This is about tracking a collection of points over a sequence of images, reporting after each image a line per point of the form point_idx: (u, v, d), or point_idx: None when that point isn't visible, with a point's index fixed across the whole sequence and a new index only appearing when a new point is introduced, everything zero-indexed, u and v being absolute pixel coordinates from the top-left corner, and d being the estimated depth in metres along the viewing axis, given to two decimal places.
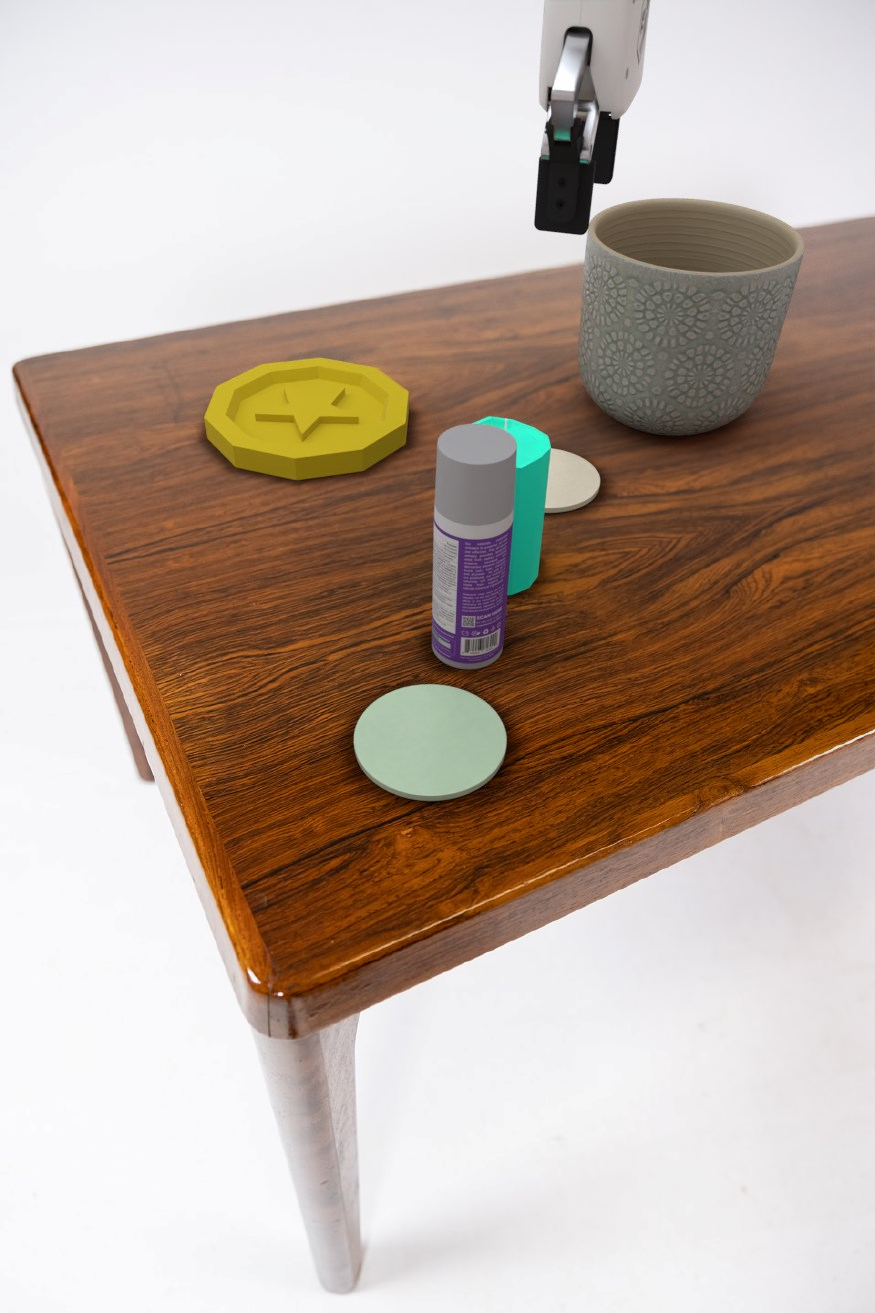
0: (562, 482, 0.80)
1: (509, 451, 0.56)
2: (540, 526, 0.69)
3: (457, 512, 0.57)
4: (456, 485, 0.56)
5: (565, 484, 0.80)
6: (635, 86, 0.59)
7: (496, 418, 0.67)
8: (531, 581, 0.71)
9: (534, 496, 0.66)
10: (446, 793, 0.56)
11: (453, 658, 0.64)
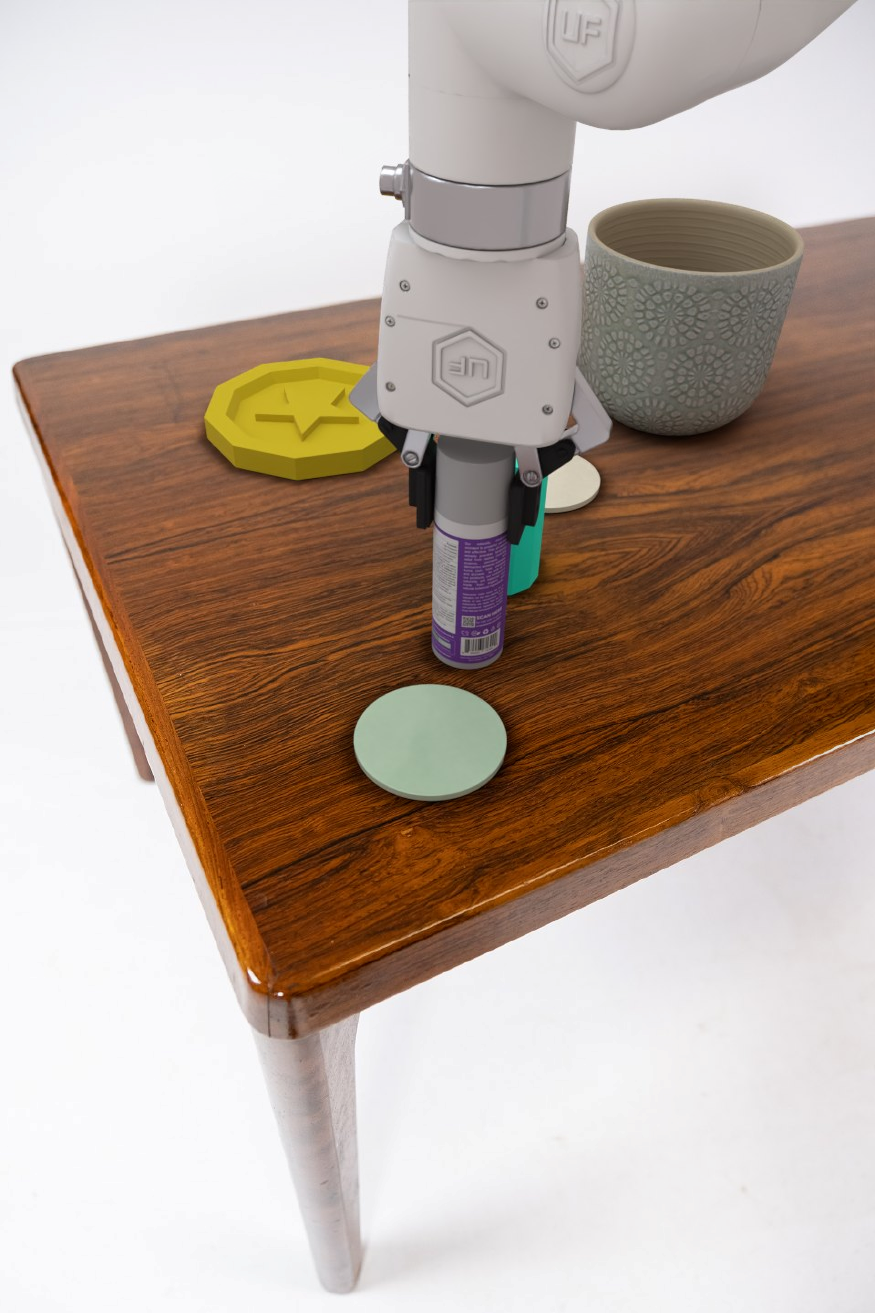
0: (562, 482, 0.80)
1: (508, 451, 0.56)
2: (540, 526, 0.69)
3: (457, 512, 0.57)
4: (456, 485, 0.56)
5: (565, 484, 0.80)
6: (464, 425, 0.52)
7: None
8: (531, 581, 0.71)
9: None
10: (446, 793, 0.56)
11: (453, 658, 0.64)
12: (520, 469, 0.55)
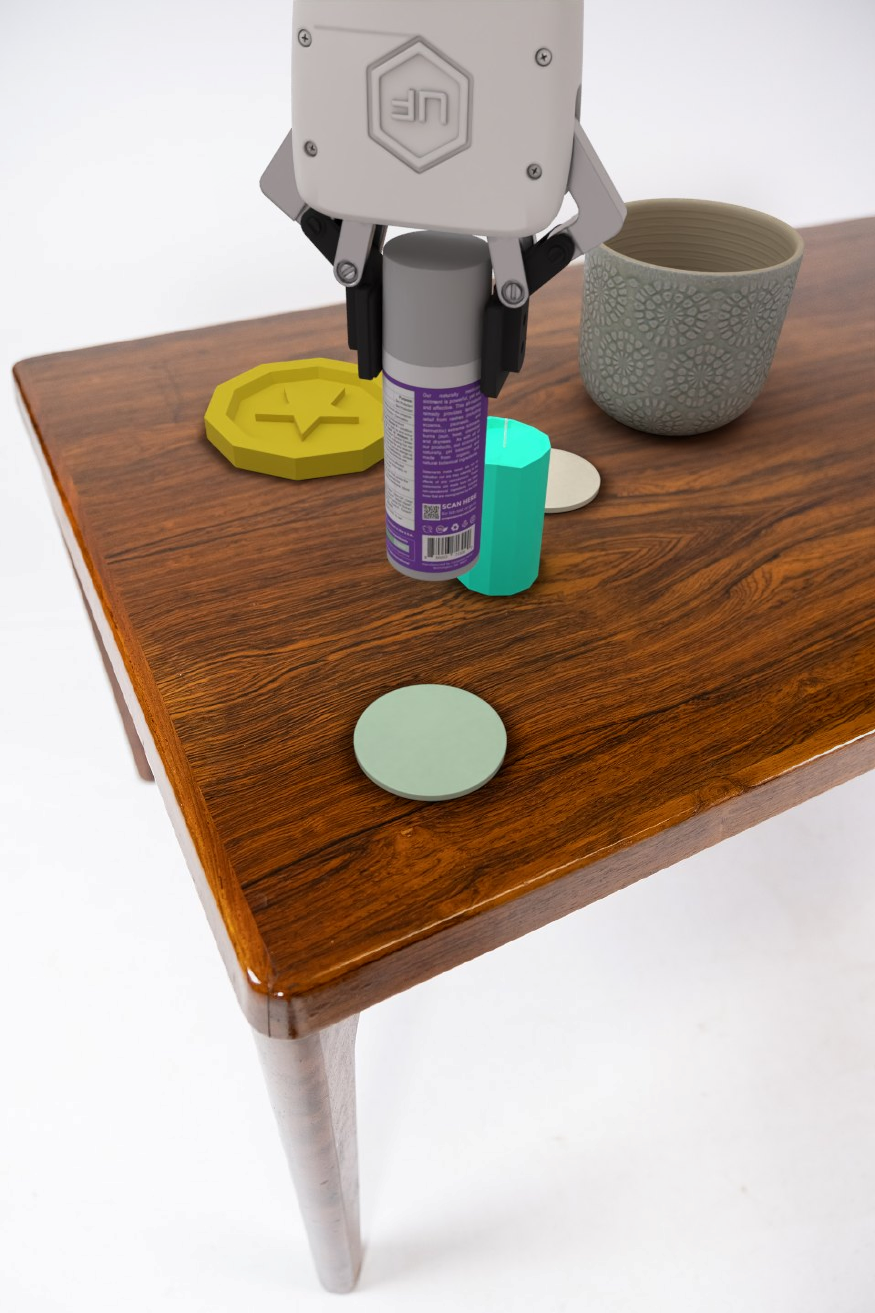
0: (562, 482, 0.80)
1: (482, 257, 0.40)
2: (540, 526, 0.69)
3: (411, 348, 0.41)
4: (408, 306, 0.40)
5: (565, 484, 0.80)
6: (416, 204, 0.37)
7: (496, 418, 0.67)
8: (531, 581, 0.71)
9: (534, 496, 0.66)
10: (446, 793, 0.56)
11: (413, 565, 0.48)
12: (497, 280, 0.39)
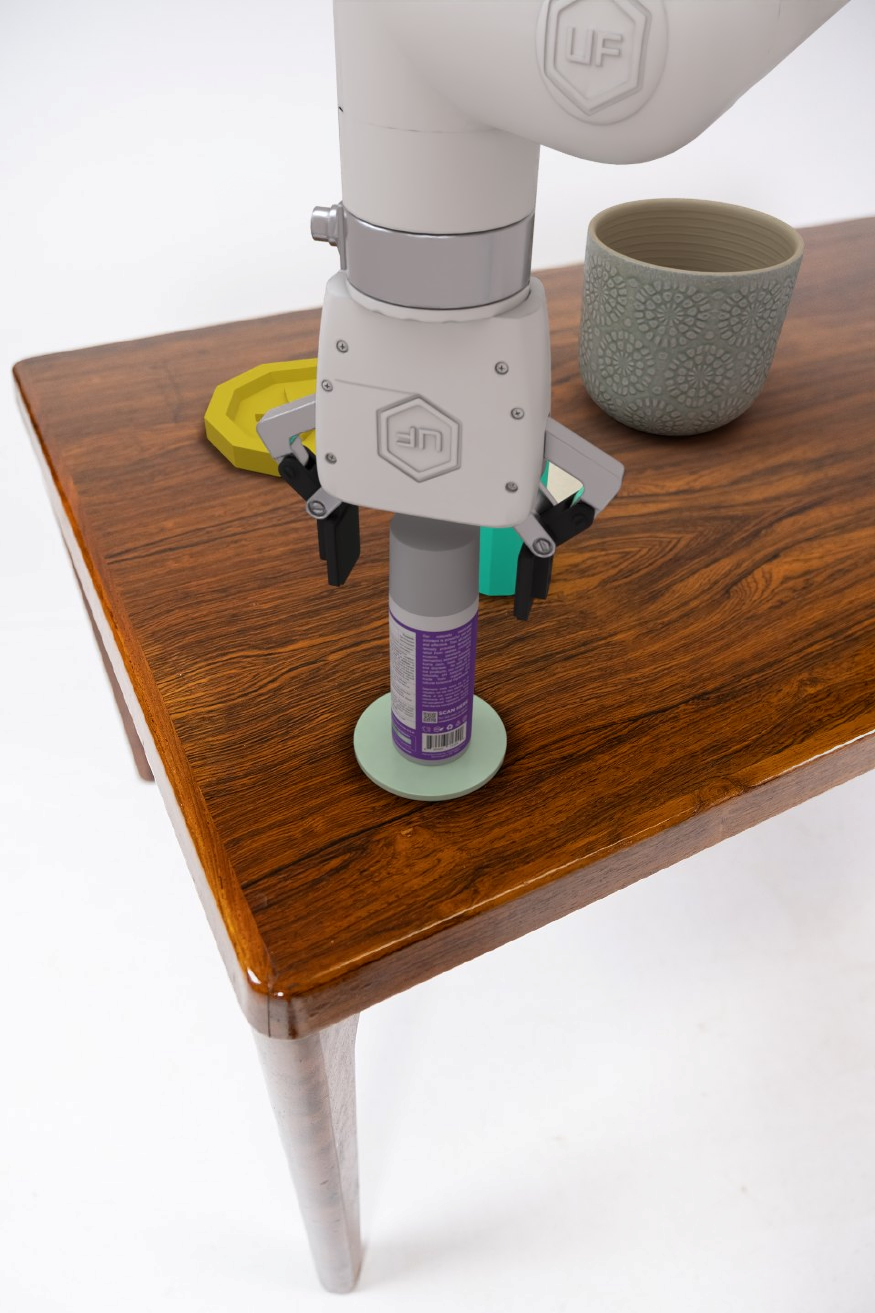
0: (562, 482, 0.80)
1: (471, 534, 0.49)
2: None
3: (413, 602, 0.50)
4: (411, 573, 0.49)
5: (565, 484, 0.80)
6: (416, 502, 0.45)
7: None
8: None
9: None
10: (446, 793, 0.56)
11: (414, 754, 0.57)
12: (529, 537, 0.47)
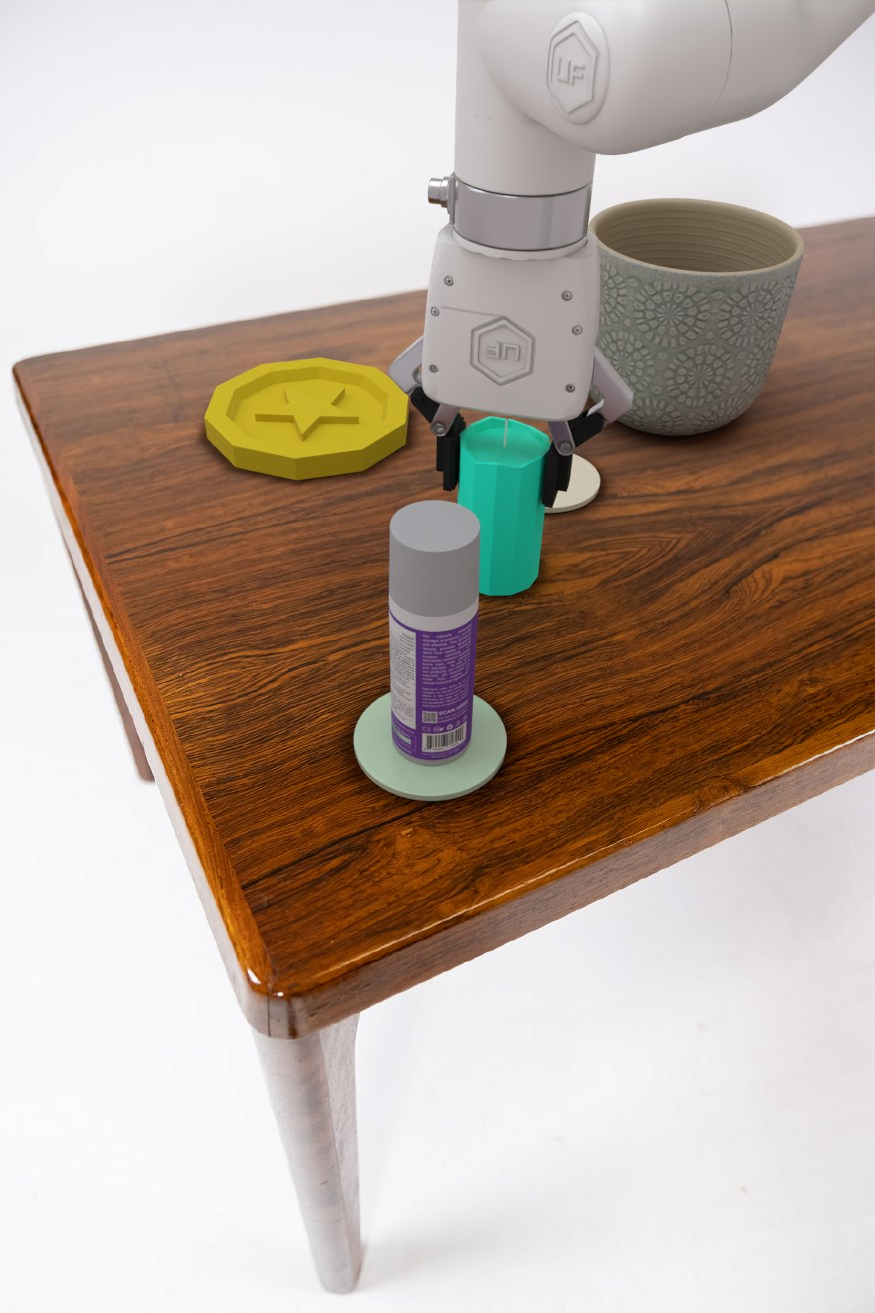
0: None
1: (471, 534, 0.49)
2: (540, 526, 0.69)
3: (413, 602, 0.50)
4: (411, 573, 0.49)
5: None
6: (497, 402, 0.61)
7: (496, 418, 0.67)
8: (531, 581, 0.71)
9: (534, 496, 0.66)
10: (446, 793, 0.56)
11: (414, 754, 0.57)
12: (555, 439, 0.63)
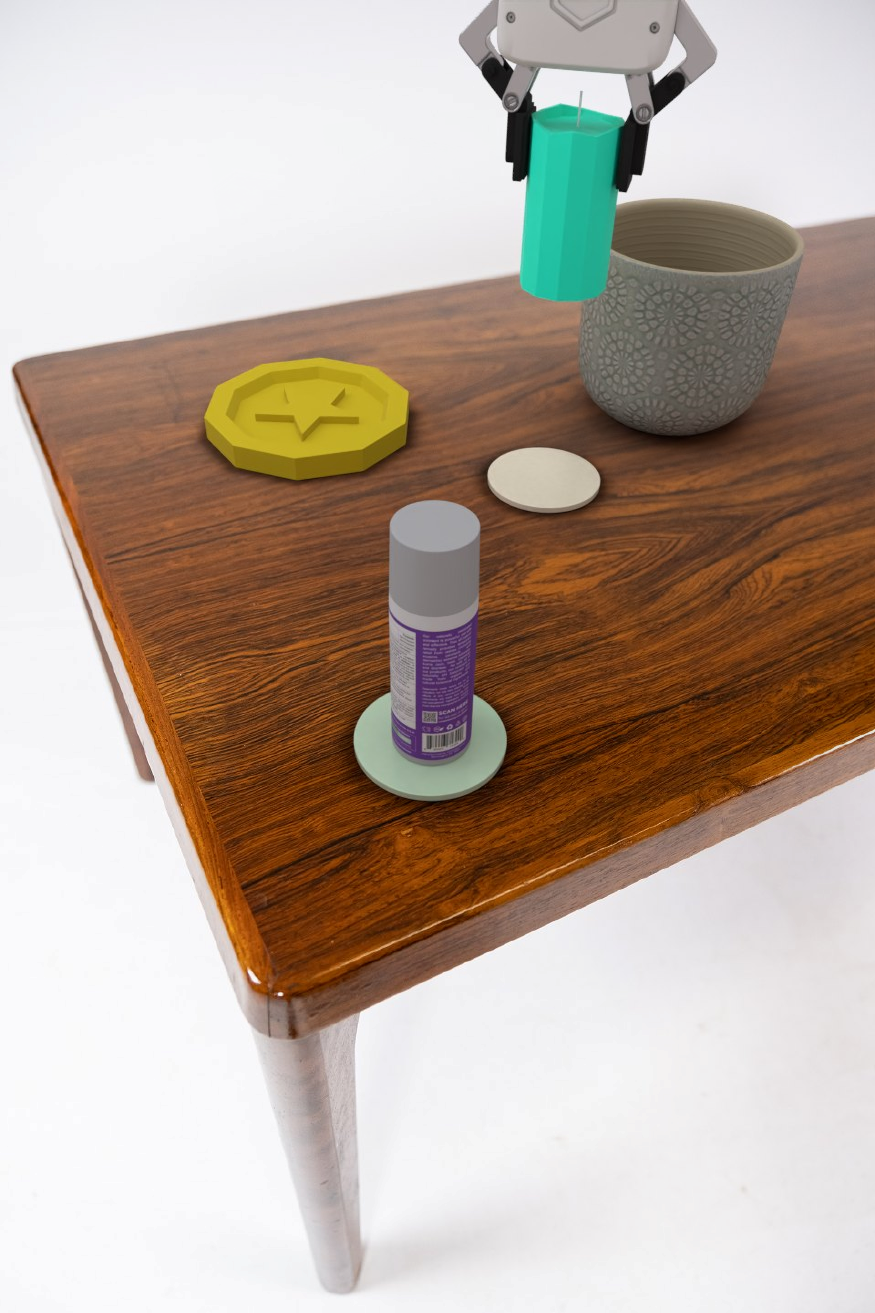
0: (562, 482, 0.80)
1: (471, 534, 0.49)
2: (611, 222, 0.66)
3: (413, 602, 0.50)
4: (411, 573, 0.49)
5: (565, 484, 0.80)
6: (576, 52, 0.58)
7: (567, 105, 0.65)
8: (599, 289, 0.69)
9: (608, 178, 0.64)
10: (446, 793, 0.56)
11: (414, 754, 0.57)
12: (634, 104, 0.61)
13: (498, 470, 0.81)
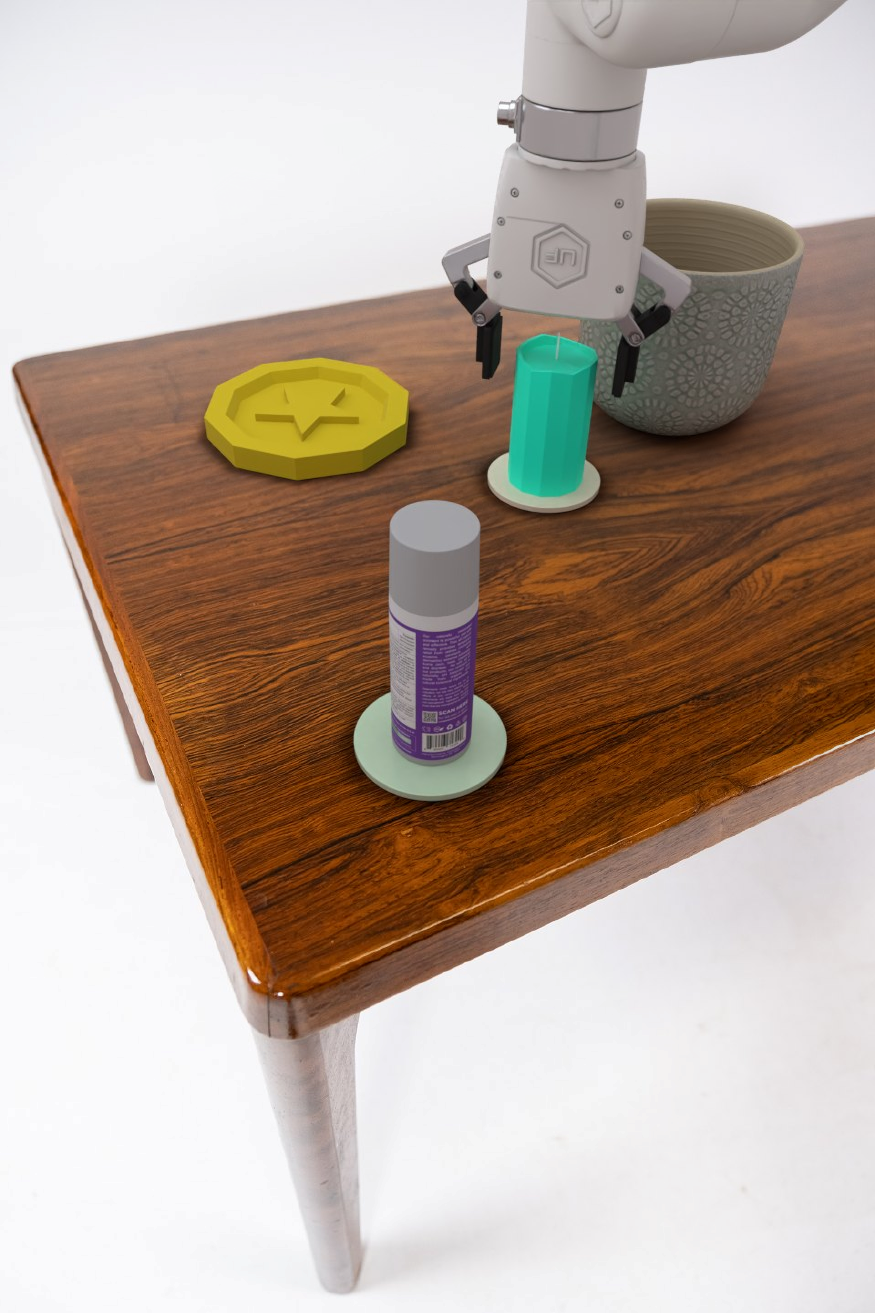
0: None
1: (471, 534, 0.49)
2: (586, 433, 0.77)
3: (413, 602, 0.50)
4: (411, 573, 0.49)
5: None
6: (554, 304, 0.69)
7: (548, 335, 0.76)
8: (577, 485, 0.79)
9: (583, 403, 0.74)
10: (446, 793, 0.56)
11: (414, 754, 0.57)
12: (627, 331, 0.70)
13: (498, 470, 0.81)
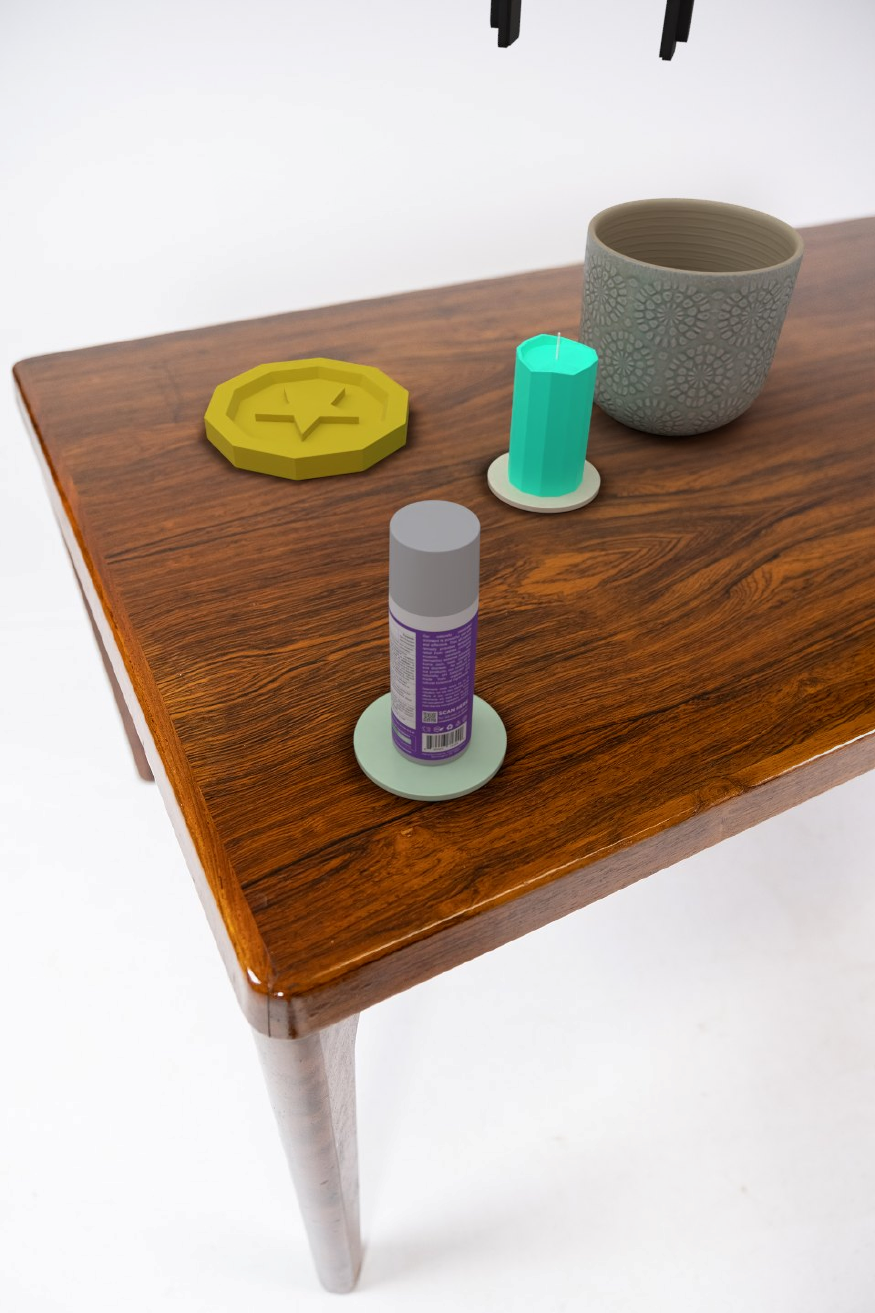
0: None
1: (471, 534, 0.49)
2: (586, 433, 0.77)
3: (413, 602, 0.50)
4: (411, 573, 0.49)
5: None
6: None
7: (548, 335, 0.76)
8: (577, 485, 0.79)
9: (583, 403, 0.74)
10: (446, 793, 0.56)
11: (414, 754, 0.57)
12: None
13: (498, 470, 0.81)
